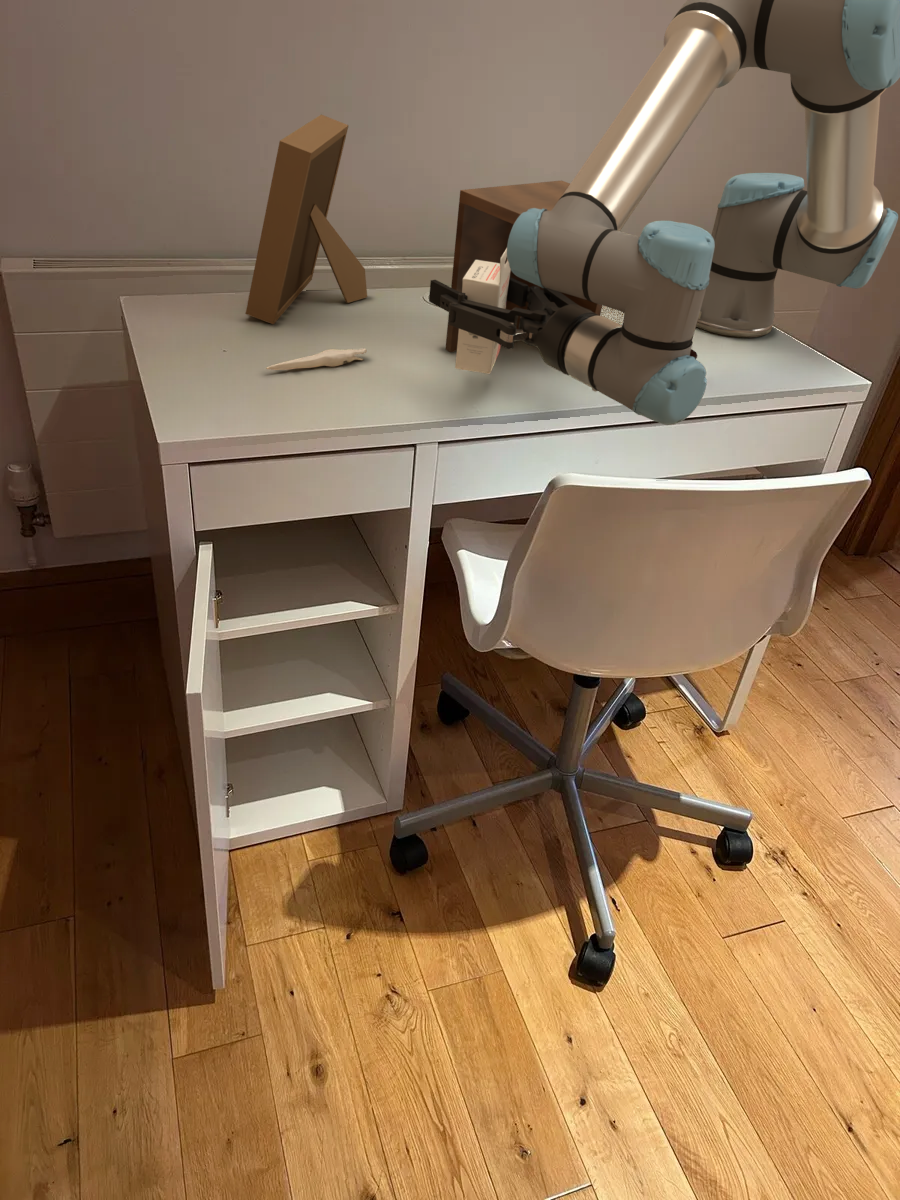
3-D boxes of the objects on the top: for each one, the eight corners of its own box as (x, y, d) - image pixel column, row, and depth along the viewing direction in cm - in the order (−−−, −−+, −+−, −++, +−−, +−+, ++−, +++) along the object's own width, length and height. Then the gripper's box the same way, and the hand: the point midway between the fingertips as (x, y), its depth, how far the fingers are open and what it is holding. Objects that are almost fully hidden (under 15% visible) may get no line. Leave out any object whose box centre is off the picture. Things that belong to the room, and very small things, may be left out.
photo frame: (245, 320, 137) (238, 135, 122) (287, 276, 154) (284, 109, 139) (343, 334, 136) (347, 149, 121) (373, 288, 153) (381, 122, 138)
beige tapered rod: (361, 355, 130) (361, 342, 129) (370, 362, 128) (370, 349, 127) (262, 370, 123) (261, 357, 122) (270, 378, 121) (269, 364, 120)
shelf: (538, 329, 145) (561, 180, 132) (594, 358, 137) (625, 203, 124) (445, 349, 135) (460, 189, 122) (500, 381, 127) (522, 215, 114)
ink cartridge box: (465, 345, 126) (477, 234, 117) (500, 351, 125) (515, 240, 116) (452, 369, 119) (464, 252, 110) (490, 375, 118) (505, 258, 109)
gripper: (509, 394, 102) (392, 326, 116) (641, 360, 114) (521, 302, 128) (518, 329, 98) (395, 266, 111) (654, 301, 110) (529, 246, 123)
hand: (462, 285), depth 120 cm, fingers closed on ink cartridge box, 9 cm apart
